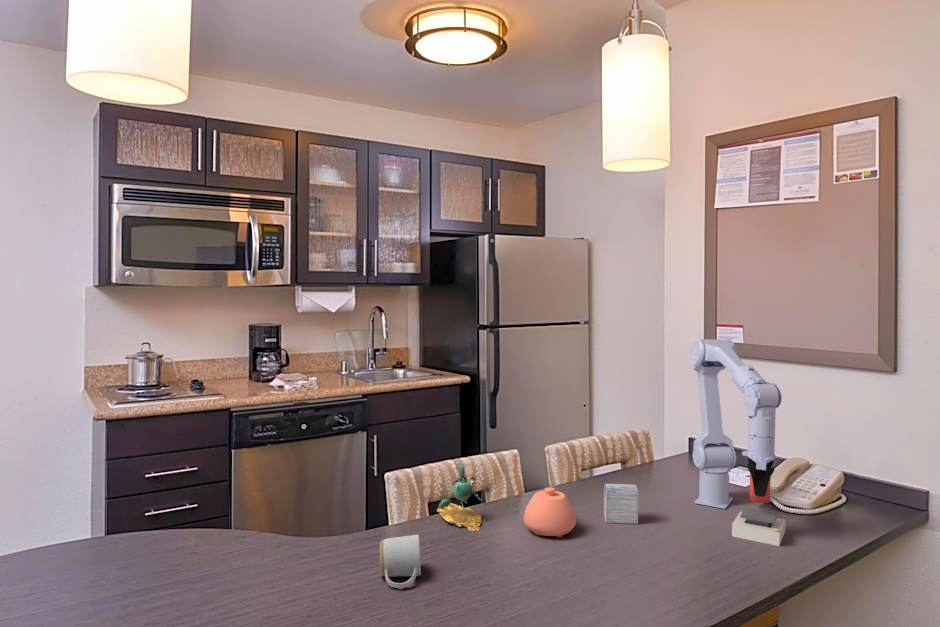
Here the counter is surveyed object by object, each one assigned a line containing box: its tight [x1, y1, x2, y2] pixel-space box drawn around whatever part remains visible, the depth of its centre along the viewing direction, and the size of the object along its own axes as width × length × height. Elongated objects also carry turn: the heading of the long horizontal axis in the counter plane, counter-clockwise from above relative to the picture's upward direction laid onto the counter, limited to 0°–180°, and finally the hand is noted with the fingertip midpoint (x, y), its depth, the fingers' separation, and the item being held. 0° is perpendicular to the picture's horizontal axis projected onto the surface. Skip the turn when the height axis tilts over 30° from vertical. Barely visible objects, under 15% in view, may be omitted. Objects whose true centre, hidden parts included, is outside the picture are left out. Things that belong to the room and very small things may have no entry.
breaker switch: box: [740, 506, 779, 528], centre depth 149 cm, size 7×7×4 cm
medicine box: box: [603, 483, 640, 525], centre depth 157 cm, size 8×4×9 cm, turn 84°
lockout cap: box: [749, 473, 772, 504], centre depth 149 cm, size 4×4×6 cm
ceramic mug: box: [379, 534, 422, 588], centre depth 125 cm, size 11×8×8 cm
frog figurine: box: [436, 464, 483, 532], centre depth 157 cm, size 10×18×15 cm, turn 26°
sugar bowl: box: [523, 486, 577, 538], centre depth 151 cm, size 12×14×10 cm
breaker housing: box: [731, 510, 787, 547], centre depth 149 cm, size 10×10×4 cm
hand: (759, 492), depth 149 cm, fingers closed on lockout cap, 4 cm apart
